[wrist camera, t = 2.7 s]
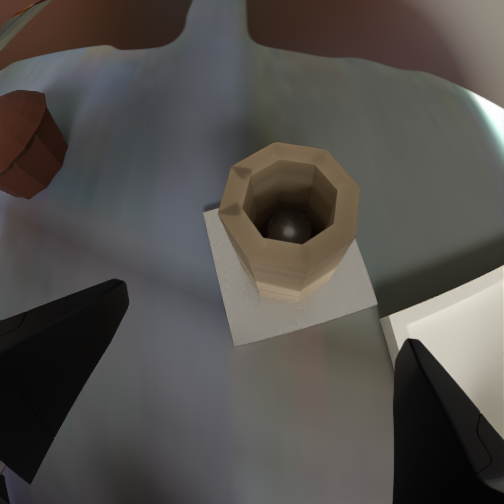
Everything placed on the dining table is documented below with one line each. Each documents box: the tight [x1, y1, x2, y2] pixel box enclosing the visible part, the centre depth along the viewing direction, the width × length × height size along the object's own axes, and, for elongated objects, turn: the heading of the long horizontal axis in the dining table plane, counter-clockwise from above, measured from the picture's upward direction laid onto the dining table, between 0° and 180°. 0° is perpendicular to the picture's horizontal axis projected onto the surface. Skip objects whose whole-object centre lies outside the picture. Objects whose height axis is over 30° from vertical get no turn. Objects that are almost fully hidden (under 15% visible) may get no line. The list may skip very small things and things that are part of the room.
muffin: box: [0, 90, 68, 199], centre depth 23 cm, size 12×11×10 cm
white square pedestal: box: [204, 208, 378, 347], centre depth 19 cm, size 10×10×6 cm
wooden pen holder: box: [218, 142, 360, 302], centre depth 17 cm, size 6×6×8 cm
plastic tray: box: [380, 265, 504, 439], centre depth 16 cm, size 16×16×2 cm
